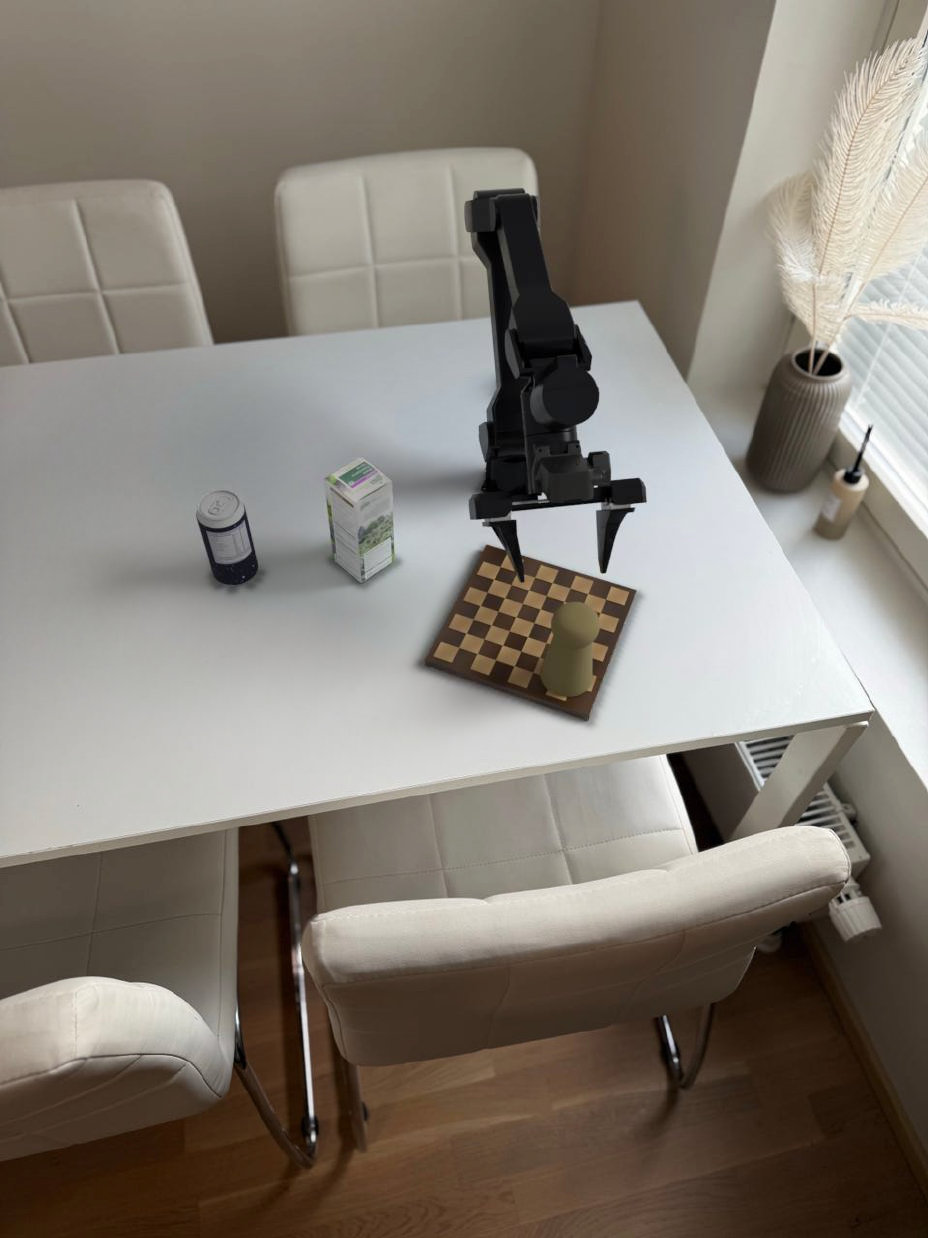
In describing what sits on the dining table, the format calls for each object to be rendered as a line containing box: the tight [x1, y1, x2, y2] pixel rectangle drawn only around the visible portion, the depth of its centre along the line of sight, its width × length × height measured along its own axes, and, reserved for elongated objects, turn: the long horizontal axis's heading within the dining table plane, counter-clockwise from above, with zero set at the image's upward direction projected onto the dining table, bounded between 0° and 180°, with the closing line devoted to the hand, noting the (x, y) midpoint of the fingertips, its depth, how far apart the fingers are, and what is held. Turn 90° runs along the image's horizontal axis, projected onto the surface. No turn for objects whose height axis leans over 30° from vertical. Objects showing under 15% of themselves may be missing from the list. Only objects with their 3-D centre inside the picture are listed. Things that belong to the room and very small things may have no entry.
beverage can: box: [195, 489, 259, 587], centre depth 111 cm, size 6×6×12 cm
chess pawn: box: [540, 602, 600, 697], centre depth 101 cm, size 6×6×11 cm
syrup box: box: [323, 456, 396, 584], centre depth 112 cm, size 6×6×14 cm
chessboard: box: [424, 544, 638, 722], centre depth 111 cm, size 20×20×1 cm
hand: (562, 577), depth 102 cm, fingers open, 9 cm apart
